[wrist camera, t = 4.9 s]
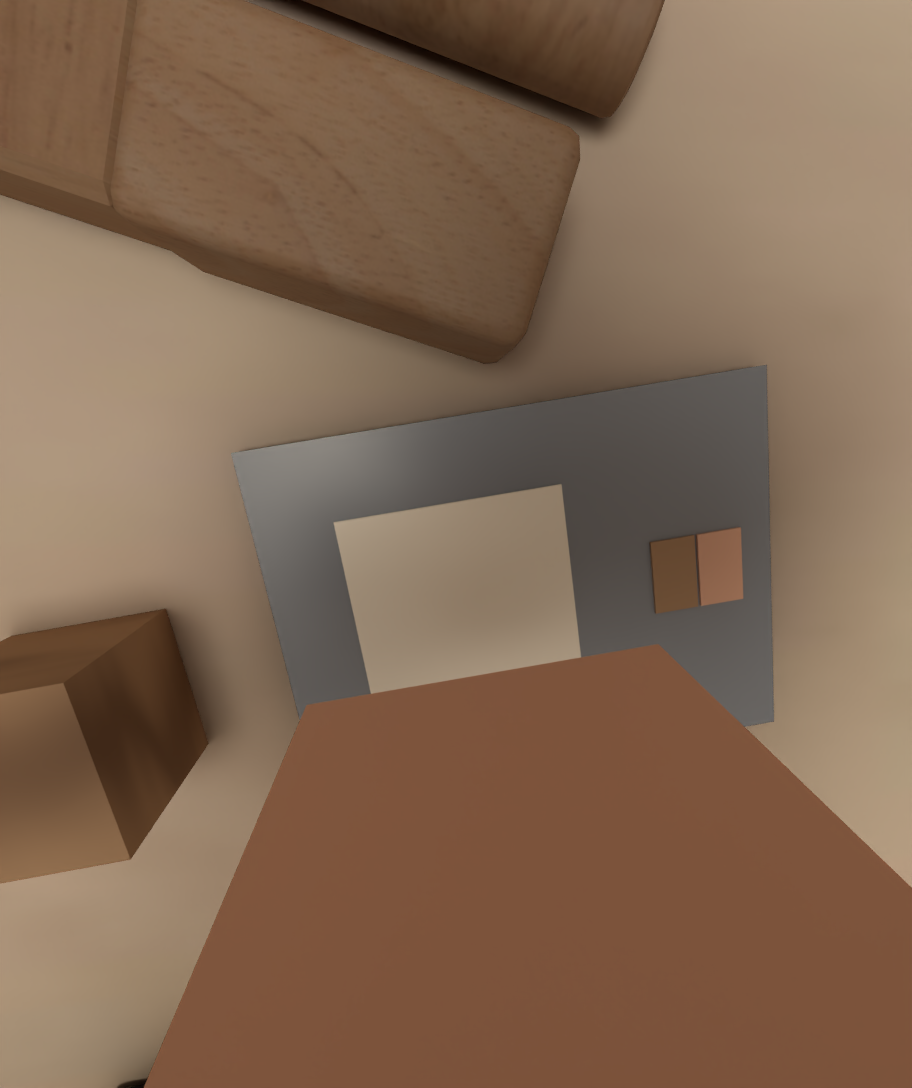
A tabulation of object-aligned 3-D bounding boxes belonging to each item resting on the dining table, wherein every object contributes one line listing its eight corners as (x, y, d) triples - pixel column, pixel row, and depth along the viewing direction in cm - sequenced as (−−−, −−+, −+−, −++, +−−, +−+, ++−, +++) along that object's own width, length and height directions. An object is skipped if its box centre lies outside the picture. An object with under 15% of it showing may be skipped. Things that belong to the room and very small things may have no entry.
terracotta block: (679, 925, 9) (1011, 1586, 4) (376, 980, 8) (307, 1729, 4) (658, 644, 7) (1103, 1071, 3) (306, 704, 7) (69, 1263, 2)
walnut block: (209, 742, 18) (130, 859, 13) (66, 768, 18) (-67, 896, 13) (166, 607, 17) (63, 683, 12) (13, 635, 17) (-154, 721, 12)
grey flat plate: (763, 712, 19) (775, 722, 18) (324, 789, 19) (320, 803, 18) (754, 366, 16) (768, 364, 15) (238, 451, 16) (229, 453, 15)
